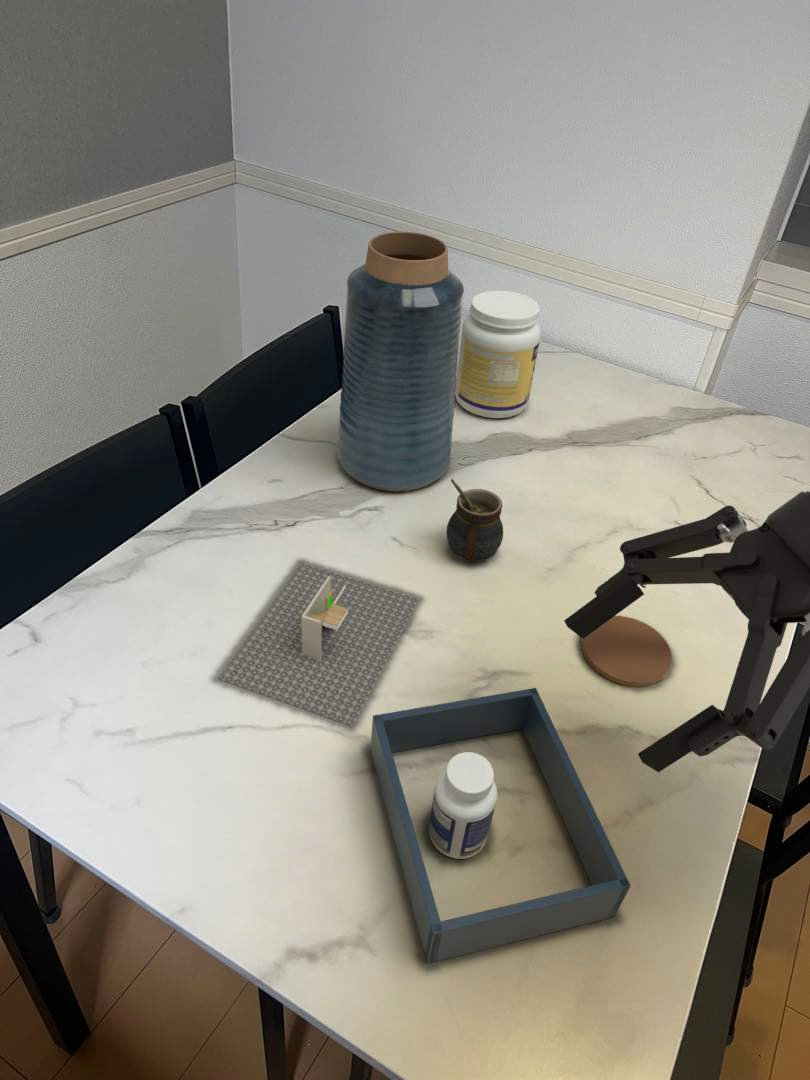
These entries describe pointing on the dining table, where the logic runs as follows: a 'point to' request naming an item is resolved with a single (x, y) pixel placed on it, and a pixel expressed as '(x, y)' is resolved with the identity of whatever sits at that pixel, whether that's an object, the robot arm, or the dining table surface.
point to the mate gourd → (475, 525)
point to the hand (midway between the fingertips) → (607, 691)
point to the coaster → (627, 652)
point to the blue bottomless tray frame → (567, 793)
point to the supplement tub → (498, 354)
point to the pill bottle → (463, 806)
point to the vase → (400, 363)
